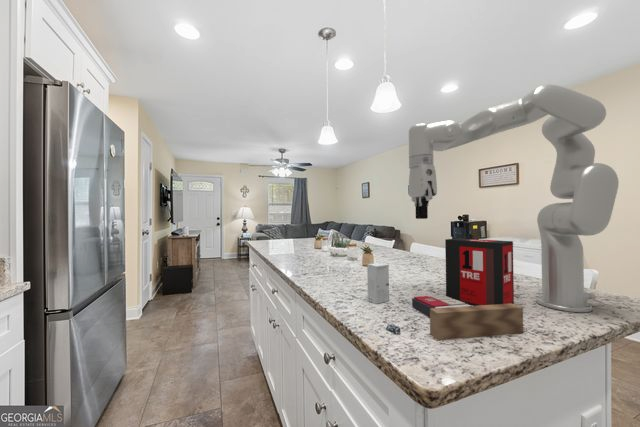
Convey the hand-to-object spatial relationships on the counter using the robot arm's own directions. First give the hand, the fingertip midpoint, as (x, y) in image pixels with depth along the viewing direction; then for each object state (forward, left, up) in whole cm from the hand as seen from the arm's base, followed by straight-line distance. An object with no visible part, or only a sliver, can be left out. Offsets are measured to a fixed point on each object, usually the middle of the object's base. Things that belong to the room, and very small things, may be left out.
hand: (421, 218), depth 86 cm
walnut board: (0, +24, -27) cm, 36 cm away
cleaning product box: (-17, +4, -27) cm, 32 cm away
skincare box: (+14, -3, -27) cm, 31 cm away
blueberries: (+18, +19, -28) cm, 38 cm away
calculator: (0, +11, -28) cm, 30 cm away
